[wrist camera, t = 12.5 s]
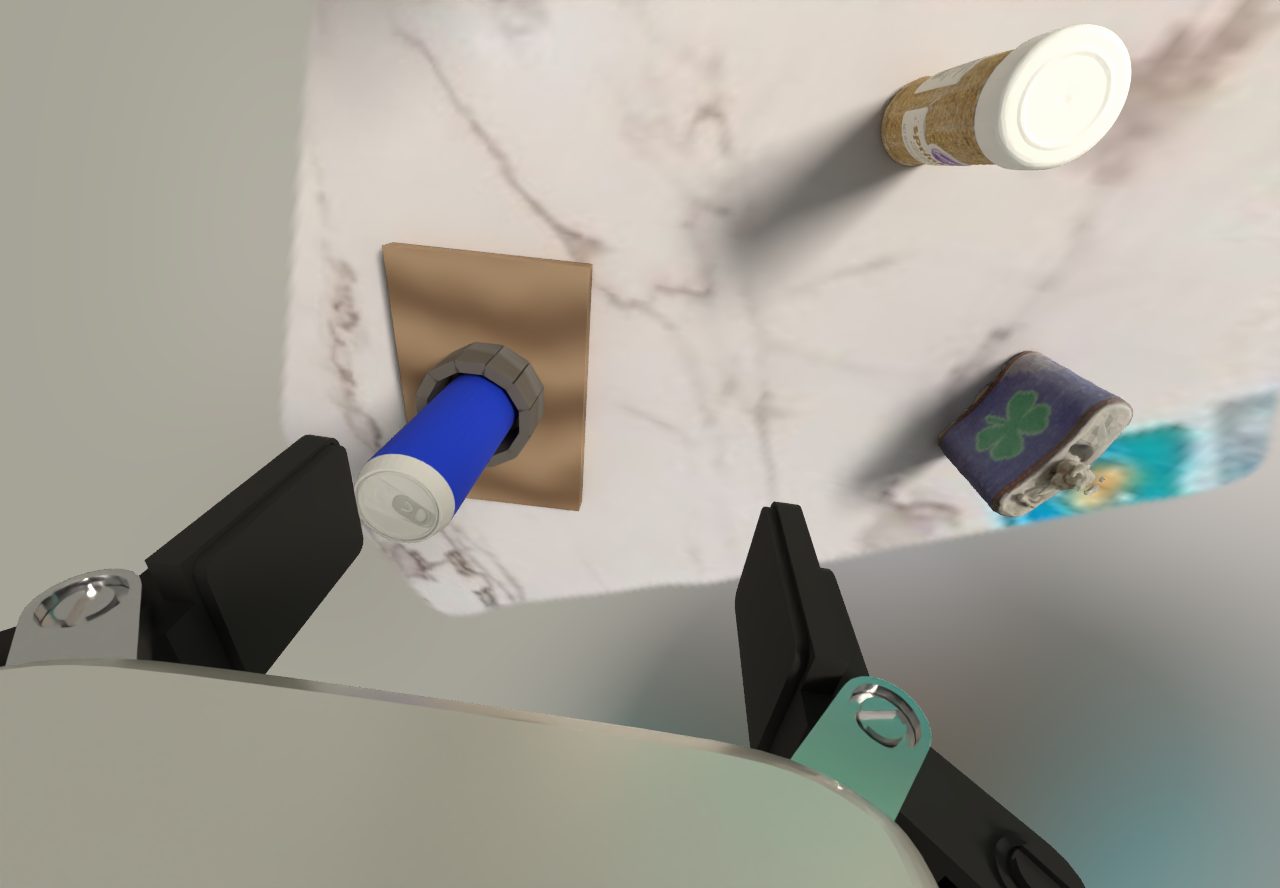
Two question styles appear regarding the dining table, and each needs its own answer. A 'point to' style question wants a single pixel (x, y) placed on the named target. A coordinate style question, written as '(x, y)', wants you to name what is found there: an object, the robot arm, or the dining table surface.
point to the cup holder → (501, 356)
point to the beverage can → (434, 460)
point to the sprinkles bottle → (1014, 104)
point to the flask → (1033, 434)
